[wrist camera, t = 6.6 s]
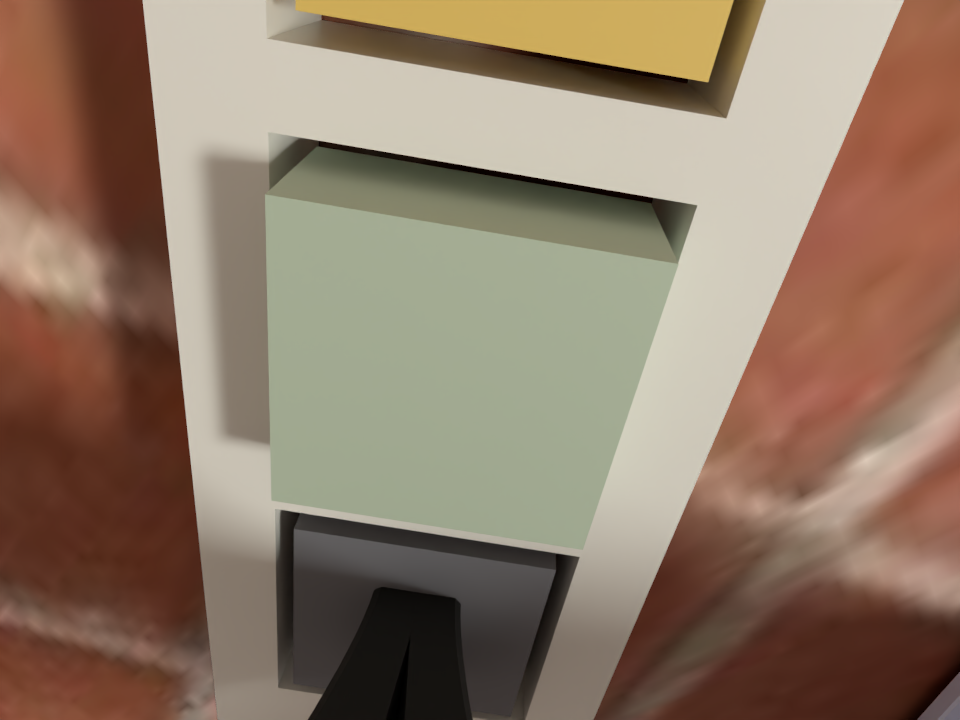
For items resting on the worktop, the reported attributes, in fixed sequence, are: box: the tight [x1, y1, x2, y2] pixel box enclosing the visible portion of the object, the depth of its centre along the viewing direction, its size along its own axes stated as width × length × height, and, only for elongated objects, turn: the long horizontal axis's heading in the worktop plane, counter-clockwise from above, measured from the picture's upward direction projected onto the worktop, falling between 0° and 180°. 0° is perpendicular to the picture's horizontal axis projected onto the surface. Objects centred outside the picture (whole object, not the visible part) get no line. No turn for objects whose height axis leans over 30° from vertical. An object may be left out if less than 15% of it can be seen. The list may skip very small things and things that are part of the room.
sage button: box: [265, 146, 678, 550], centre depth 8 cm, size 4×4×2 cm
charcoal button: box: [293, 513, 556, 717], centre depth 12 cm, size 4×4×2 cm
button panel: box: [143, 0, 904, 720], centre depth 9 cm, size 19×7×2 cm, turn 171°
